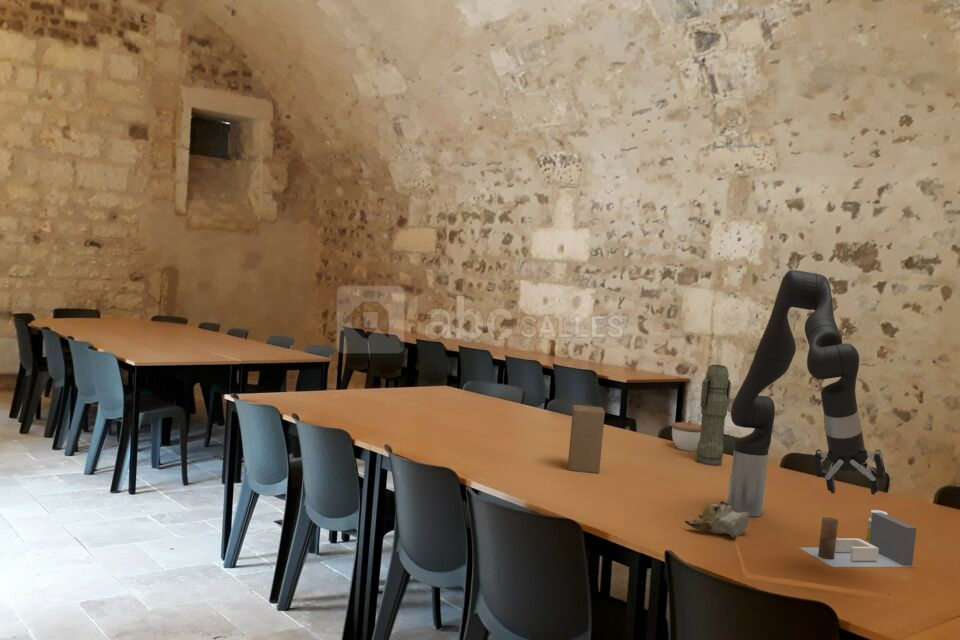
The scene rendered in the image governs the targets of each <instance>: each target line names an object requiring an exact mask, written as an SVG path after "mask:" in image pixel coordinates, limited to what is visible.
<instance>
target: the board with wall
mask: <svg viewBox="0 0 960 640" xmlns="http://www.w3.org/2000/svg"><path fill="white" fill-rule="evenodd" d="M916 534H917V527H916V526H913V525H910V524H908V523H906V522H903V521H902V520H899V519H897V518H894V517H892V516H890V515H889V514H888V515H885V514H883V513H874V512H872V520H871V529H870V538H869V540H868V543H869V544H871V545H873V546H875V547H877V548H879V551H878V560H877V561H852V560H850V552H835V555H834V559H824V558H821V557H819V556H818V552H819V546H818V547H817V546H816V547H815V546H814V547H806V546H805V547H798V549H800V550H802V551H804V552H805V553H807V554H809V555H811V556H812V557H813V558H816V559H817V560H820V561H821V562H822V563H825V564H826V565H828V566H830V567H831V568H869V567H870V568H879V567H881V568H882V567H883V568H893V567H895V568H897V567H903V568H904V567H905V568H908V567H909V568H911V567H915V565H913V560H914V553H915V543H916Z"/></svg>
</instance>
